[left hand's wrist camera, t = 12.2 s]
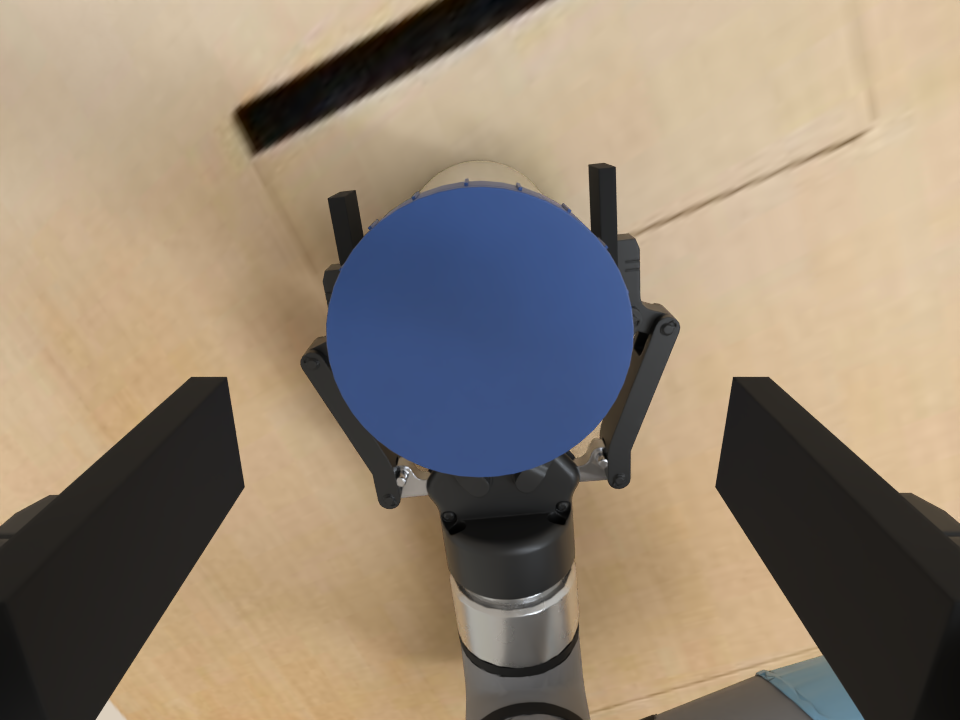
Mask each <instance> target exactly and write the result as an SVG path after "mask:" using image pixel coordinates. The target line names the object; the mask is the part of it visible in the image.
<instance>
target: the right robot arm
mask: <svg viewBox="0 0 960 720" xmlns="http://www.w3.org/2000/svg"><path fill="white" fill-rule="evenodd" d="M589 190H590V215H591V232H592V233H593V234H594V235H595V236H596V237H597V238H598V237H599V238H600V239H601V240H602V241H603V242H604V243H605V244H606V245H607V247H608V248H607V251H608V252H609V253H610V255H611V257H612V258H613V260H614V262H615V264H616V265H617V267H618V269H619V271H620V273H621V275H622V278H623V280H624V283H625V285H626V288H627V290H628V291H629V294H628V295H629V299H630V303H631V307H632V315H633V325H634V335H635V336H634V335H633V336H634V339H633V350H632V355H631V361H630V366H629V369H628V372H627V375H626V378H625V381H624V384H623V386H622V388H621V390H620V392H619V395H618V397H617V399H616V401H615V402H614V404H613V405H612V407H611V408H610V410H609V411H608V413H607V414H606V416H605V417H604V418H603V421H602V424H601V429H600V439H599V438H594V439H593V440H592V441H591V443H590V444H589V446H588V449H587V452H586V453H585V454H584V455H583V456H582V457H579V458H575V457H574V455H573V454H572V453H571V452H570V451H567V452H566V453H564V454H562V455H561V456H559V457H557V458H555V459H553V460H551V461H550V462H547V463H545V464H542V465H540V466H538V467H535V468H533V469H529V470H526V471H522V472H518V473H515V474H509V475H502V476H495V477H467V476H457V475H451V474H446V473H441V472H438V471H434V470H431V469H429V471H421V470H419V469H418V468H417V467H416V466H415V464H414V463H413V462H411V461H408V460H406V459H405V458H403V457H401V456H400V455H398V454H396V453H394V452H393V451H391V450H390V449H388V448H387V447H386V446H384V445H383V444H382V443H380V442H379V441H378V440H377V439H376V438H375V437H373V436H372V435H371V434H370V433H369V432H368V431H367V430H366V429H365V428H364V427H363V426H362V424H361V423H360V422H359V421H358V419H357V418H356V417H355V416H354V414H353V413H352V412H351V410H350V408H349V407H348V405H347V404H346V402H345V400H344V399H343V397H342V395H341V393H340V390H339V388H338V386H337V384H336V381H335V379H334V376H333V372H332V369H331V365H330V362H329V356H328V349H327V338H326V336H325V337H319V338H317V339H316V340H315V341H314V342H313V343H312V345H311V346H310V347H309V349H308V350H307V351H306V353H305V354H304V355H303V357H302V359H301V367H302V369H303V371H304V372H305V374H306V375H307V377H308V378H309V380H310V381H311V383H312V384H313V386H314V387H315V389H316V390H317V392H318V393H319V395H320V396H321V398H322V399H323V401H324V402H325V404H326V405H327V407H328V408H329V410H330V411H331V413H332V414H333V416H334V417H335V419H336V420H337V422H338V423H339V425H340V426H341V428H342V429H343V431H344V432H345V434H346V435H347V437H348V438H349V440H350V441H351V443H352V444H353V446H354V447H355V449H356V450H357V452H358V453H359V455H360V456H361V458H362V459H363V461H364V462H365V464H366V465H367V467H368V468H369V470H370V471H371V473H372V474H373V478H374V483H375V488H376V492H377V497H378V501H379V503H380V505H381V506H382V507H384V508H386V509H393V508H396V507H397V506H398V505H399V503H400V500H401V498H405V497H414V496H424V495H429V497H430V498H431V499H432V500H433V501H434V503H435V504H436V506H437V507H438V509H439V512H440V518H441V524H442V531H443V537H444V544H445V550H446V557H447V563H448V568H449V571H450V584H451V590H452V596H453V602H454V608H455V613H456V619H457V625H458V633H459V638H460V642H461V648H462V657H463V666H464V674H465V684H466V720H590V716H589V710H588V705H587V699H586V694H585V688H584V681H583V672H582V661H581V651H580V641H579V606H578V591H577V577H576V564H575V561H574V558H575V543H574V527H573V510H572V496H573V493H574V491H575V489H576V487H577V485H578V483H579V482H583V481H596V480H608V483H609V485H610V486H611V487H613V488H615V489H621V488H624V487H626V486H627V485H628V484H629V482H630V478H631V449H632V447H633V444H634V442H635V439H636V437H637V434H638V432H639V429H640V427H641V424H642V422H643V420H644V417H645V415H646V412H647V410H648V407H649V405H650V402H651V400H652V397H653V395H654V393H655V390H656V388H657V385H658V383H659V380H660V378H661V375H662V373H663V370H664V368H665V366H666V363H667V361H668V358H669V356H670V353H671V351H672V348H673V346H674V343H675V341H676V339H677V336H678V334H679V330H680V325H679V322H678V321H677V320H676V319H675V318H674V317H673V316H672V315H671V314H670V313H669V312H668V311H667V310H666V309H665V308H664V307H663V306H662V305H660V304H656V303H654V304H650V303H646V302H643V301H641V299H640V249H639V246H638V244H637V242H636V239H635V238H634V237H632V236H631V235H630V234H619V235H617V202H616V167H614V166H612V165H609V164H606V163H599V164H590V165H589ZM328 203H329V208H330V213H331V219H332V224H333V229H334V234H335V240H336V245H337V250H338V255H339V261H340V264H333V265H331V266H330V267H329V268H327V269H326V270H325V273H324V278H323V285H324V290H325V295H326V300H327V305H328V307H329V302H330V298H331V295H332V291H333V288H334V285H335V282H336V280H337V278H338V275H339V273H340V271H339V269H340V267H341V266H342V265H343V264H344V263H345V262H346V260H347V258H348V257H349V255H350V254H351V252H352V250H353V249H354V248H355V247H356V246H357V244H358V243H359V242H360V241H361V239H362V238H363V237H364V236H363V230H362V224H361V219H360V213H359V207H358V201H357V196H356V190H353V191H344V192H339V193H337V194H335V195H333V196H331V197H330V198H328ZM640 720H864V718H863V717H862V715H861V713H860V712H859V710H858V709H857V707H856V706H855V704H854V703H853V701H852V699H851V698H850V696H849V695H848V693H847V692H846V690H845V689H844V687H843V685H842V684H841V682H840V681H839V679H838V678H837V676H836V674H835V673H834V671H833V670H832V668H831V667H830V665H829V664H828V662H827V660H826V659H825V657H824V656H819V657H816V658H813V659H809V660H806V661H802V662H799V663H795V664H792V665H789V666H785V667H782V668H778V669H775V670H771V671H767V670H762V671H759V672H757V673H756V675H755V676H754V677H751V678H749V679H746V680H744V681H741V682H739V683H736V684H734V685H731V686H729V687H726V688H724V689H721V690H718V691H716V692H713V693H711V694H708V695H706V696H703V697H701V698H698V699H696V700H693V701H691V702H688V703H686V704H683V705H681V706H678V707H676V708H673V709H670V710H668V711H665V712H663V713H660V714H658V715H657V714H655V715H651V716H648V717H646V718H643V719H640Z"/></svg>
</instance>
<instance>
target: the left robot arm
mask: <svg viewBox="0 0 960 720" xmlns="http://www.w3.org/2000/svg"><path fill="white" fill-rule="evenodd" d="M244 487H245V486H244V480H243V474H242V468H241V461H240V455H239V449H238V443H237V437H236V430H235V424H234V418H233V412H232V406H231V399H230V393H229V387H228V381H227V377H191V378H190V379H188V380H187V381H186V382H185V383H184V384H183V385H182V386H181V387H179V388H178V389H177V390H176V391H175V392H174V393H173V394H172V395H170V396H169V397H168V398H167V399H166V400H165V401H164V402H163V403H161V404H160V405H159V406H158V407H157V408H156V409H155V410H154V411H152V412H151V413H150V414H149V415H148V416H147V417H146V418H145V419H143V420H142V421H141V422H140V423H139V424H138V425H137V426H136V427H135V428H133V429H132V430H131V431H130V432H129V433H128V434H127V435H126V436H124V437H123V438H122V439H121V440H120V441H119V442H118V443H117V444H115V445H114V446H113V447H112V448H111V449H110V450H109V451H108V452H106V453H105V454H104V455H103V456H102V457H101V458H100V459H99V460H97V461H96V462H95V463H94V464H93V465H92V466H91V467H90V468H88V469H87V470H86V471H85V472H84V473H83V474H82V475H81V476H79V477H78V478H77V479H76V480H75V481H74V482H73V483H72V484H70V485H69V486H68V487H67V488H66V489H65V490H64V491H63V492H62V493H60V494H59V495H49V496H47V497H45V498H43V499H41V500H39V501H38V502H36V503H34V504H32V505H30V506H28V507H26V508H25V509H23V510H21V511H19V512H17V513H15V514H14V515H13V516H12V517H11V518H10V519H8V520H7V521H6V522H5V523H4V524H2V525H1V526H0V720H96V718H97V717H98V715H99V713H100V712H101V710H102V709H103V707H104V706H105V704H106V702H107V701H108V699H109V698H110V696H111V695H112V693H113V692H114V690H115V689H116V687H117V685H118V684H119V682H120V681H121V679H122V678H123V676H124V674H125V673H126V671H127V670H128V668H129V667H130V665H131V664H132V662H133V660H134V659H135V657H136V656H137V654H138V653H139V651H140V650H141V648H142V646H143V645H144V643H145V642H146V640H147V639H148V637H149V635H150V634H151V632H152V631H153V629H154V628H155V626H156V625H157V623H158V621H159V620H160V618H161V617H162V615H163V614H164V612H165V611H166V609H167V607H168V606H169V604H170V603H171V601H172V600H173V598H174V596H175V595H176V593H177V592H178V590H179V589H180V587H181V586H182V584H183V582H184V581H185V579H186V578H187V576H188V575H189V573H190V572H191V570H192V568H193V567H194V565H195V564H196V562H197V561H198V559H199V557H200V556H201V554H202V553H203V551H204V550H205V548H206V547H207V545H208V543H209V542H210V540H211V539H212V537H213V536H214V534H215V533H216V531H217V529H218V528H219V526H220V525H221V523H222V522H223V520H224V518H225V517H226V515H227V514H228V512H229V511H230V509H231V508H232V506H233V504H234V503H235V501H236V500H237V498H238V497H239V495H240V494H241V492H242V490H243V489H244ZM715 487H716V489H717V490H718V492H719V494H720V495H721V497H722V498H723V500H724V501H725V503H726V504H727V506H728V508H729V509H730V511H731V512H732V514H733V515H734V517H735V518H736V520H737V522H738V523H739V525H740V526H741V528H742V529H743V531H744V533H745V534H746V536H747V537H748V539H749V540H750V542H751V543H752V545H753V547H754V548H755V550H756V551H757V553H758V554H759V556H760V557H761V559H762V561H763V562H764V564H765V565H766V567H767V568H768V570H769V572H770V573H771V575H772V576H773V578H774V579H775V581H776V582H777V584H778V586H779V587H780V589H781V590H782V592H783V593H784V595H785V596H786V598H787V600H788V601H789V603H790V604H791V606H792V607H793V609H794V611H795V612H796V614H797V615H798V617H799V618H800V620H801V621H802V623H803V625H804V626H805V628H806V629H807V631H808V632H809V634H810V635H811V637H812V639H813V640H814V642H815V643H816V645H817V646H818V648H819V650H820V651H821V653H822V654H823V656H824V657H825V659H826V660H827V662H828V664H829V665H830V667H831V668H832V670H833V671H834V673H835V674H836V676H837V678H838V679H839V681H840V682H841V684H842V685H843V687H844V689H845V690H846V692H847V693H848V695H849V696H850V698H851V699H852V701H853V703H854V704H855V706H856V707H857V709H858V710H859V712H860V713H861V715H862V717H863V718H864V720H960V523H958V522H957V521H956V520H955V519H954V518H953V517H951V516H950V515H949V514H948V513H947V512H945V511H944V510H942V509H940V508H938V507H936V506H934V505H933V504H931V503H929V502H927V501H925V500H923V499H921V498H920V497H918V496H916V495H914V494H912V493H898V492H897V491H896V490H895V489H894V488H893V487H892V486H891V485H890V484H888V483H887V482H886V481H885V480H884V479H883V478H882V477H881V476H879V475H878V474H877V473H876V472H875V471H874V470H873V469H872V468H870V467H869V466H868V465H867V464H866V463H865V462H864V461H863V460H861V459H860V458H859V457H858V456H857V455H856V454H855V453H854V452H852V451H851V450H850V449H849V448H848V447H847V446H846V445H845V444H843V443H842V442H841V441H840V440H839V439H838V438H837V437H836V436H834V435H833V434H832V433H831V432H830V431H829V430H828V429H827V428H825V427H824V426H823V425H822V424H821V423H820V422H819V421H818V420H817V419H815V418H814V417H813V416H812V415H811V414H810V413H809V412H808V411H806V410H805V409H804V408H803V407H802V406H801V405H800V404H799V403H797V402H796V401H795V400H794V399H793V398H792V397H791V396H790V395H788V394H787V393H786V392H785V391H784V390H783V389H782V388H781V387H779V386H778V385H777V384H776V383H775V382H774V381H773V380H772V379H770V378H769V377H733V381H732V387H731V393H730V399H729V406H728V412H727V418H726V424H725V430H724V437H723V443H722V449H721V455H720V461H719V468H718V474H717V480H716V486H715Z"/></svg>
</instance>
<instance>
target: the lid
mask: <svg viewBox="0 0 960 720" xmlns="http://www.w3.org/2000/svg"><path fill="white" fill-rule="evenodd" d="M368 229H369V230H370V231H369V232H368V233H367V234H366V235H365V236H364V237H363V238H362V239H361V241H360V242H359V243H358V244H357V246H356V247H355V248H354V249H353V250H352V252H351V254H350V255H349V257H348V258H347V260H346V262H345V263H344V264H343V265H342V266H341V267H340V269H339V271H340V273H339V275H338V278H337V280H336V282H335V285H334V288H333V291H332V295H331V298H330V302H329V307H328V315H327V323H326V338H327V349H328V356H329V362H330V365H331V369H332V372H333V376H334V379H335V381H336V384H337V386H338V388H339V390H340V393H341V395H342V397H343V399H344V400H345V402H346V404H347V405H348V407H349V408H350V410H351V412H352V413H353V414H354V416H355V417H356V418H357V419H358V421H359V422H360V423H361V424H362V426H363V427H364V428H365V429H366V430H367V431H368V432H369V433H370V434H371V435H372V436H373V437H375V438H376V439H377V440H378V441H379V442H380V443H382V444H383V445H384V446H386V447H387V448H388V449H390V450H391V451H393V452H394V453H396V454H398V455H400V456H401V457H403V458H405V459H406V460H408V461H411V462H413V463H415V464H418V465H420V466H422V467H425V468H428V469H431V470H434V471H438V472H441V473H446V474H451V475H457V476H467V477H495V476H502V475H509V474H515V473H518V472H522V471H526V470H529V469H533V468H535V467H538V466H540V465H542V464H545V463H547V462H550V461H551V460H553V459H555V458H557V457H559V456H561V455H562V454H564V453H566V452H567V451H569V450H570V449H571V448H573V447H574V446H576V445H577V444H578V443H580V442H581V441H582V440H583V439H584V438H585V437H586V436H587V435H589V434H590V433H591V432H592V431H593V430H594V429H595V428H596V427H597V425H598V424H599V423H600V422H601V421H602V419H603V418H604V417H605V416H606V414H607V413H608V411H609V410H610V408H611V407H612V405H613V404H614V402H615V401H616V399H617V397H618V395H619V392H620V390H621V388H622V386H623V384H624V381H625V378H626V375H627V372H628V369H629V366H630V361H631V355H632V350H633V335H634V325H633V315H632V307H631V303H630V299H629V295H628V294H629V291H628V290H627V288H626V285H625V283H624V280H623V278H622V275H621V273H620V271H619V269H618V267H617V265H616V264H615V262H614V260H613V258H612V257H611V255H610V253H609V252H608V251H607V248H608V247H607V245H606V244H605V243H604V242H603V241H602V240H601V239H600V238H599V237H598V238H597V237H596V236H595V235H594V234H593V233H592V232H591V231H590V230H589V229H588V228H587V227H586V226H585V225H584V224H583V223H582V222H581V221H580V220H579V219H578V218H577V217H576V216H575V215H574V214H572V213H571V210H570V209H569V208H568V207H567V206H566V205H565V204H564V203H563V204H562V205H560V204H559V203H557V202H555V201H553V200H551V199H550V198H548V197H546V196H544V195H542V194H540V193H538V192H535V191H532V190H529V189H527V188H524V187H522V186H521V185H520V183H516V185H512V184H507V183H503V182H492V181H469V179H465V181H464V182H458V183H453V184H448V185H443V186H439V187H436V188H434V189H431V190H428V191H425V192H422V193H419V191H418V192H416V193H415V194H414V195H413V196H412V197H411V198H410V199H408V200H406V201H405V202H403V203H402V204H400V205H399V206H397V207H396V208H394V209H393V210H391V211H390V212H389V213H388V214H387V215H385V216H384V217H383V218H382V219H381V220H380V221H379V220H378V219H377V220H376V221H375V222H374V223H373V224H372V225H371V226H369V227H368Z"/></svg>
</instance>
